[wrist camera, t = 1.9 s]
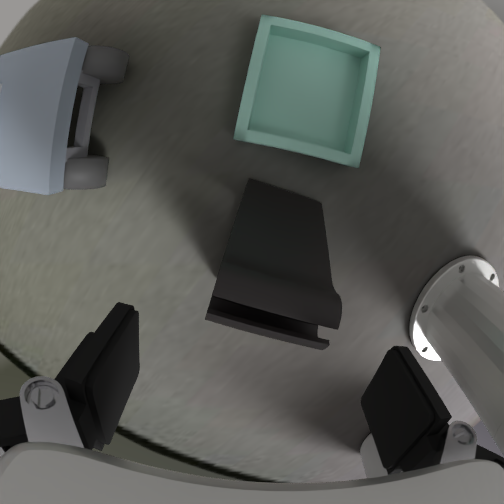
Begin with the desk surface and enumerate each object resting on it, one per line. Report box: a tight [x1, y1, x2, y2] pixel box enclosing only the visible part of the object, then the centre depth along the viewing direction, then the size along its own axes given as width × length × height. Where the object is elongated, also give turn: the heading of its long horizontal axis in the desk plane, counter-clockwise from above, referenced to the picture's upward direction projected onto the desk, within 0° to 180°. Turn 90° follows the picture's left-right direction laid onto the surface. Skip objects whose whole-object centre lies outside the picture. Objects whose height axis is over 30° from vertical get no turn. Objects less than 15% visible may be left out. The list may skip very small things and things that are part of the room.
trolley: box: [0, 37, 129, 195], centre depth 17 cm, size 11×15×9 cm
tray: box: [233, 14, 381, 168], centre depth 19 cm, size 9×10×3 cm
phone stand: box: [205, 179, 342, 350], centre depth 19 cm, size 9×6×12 cm, turn 162°
